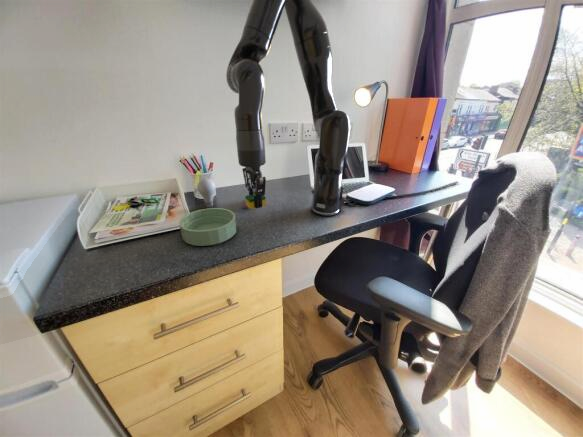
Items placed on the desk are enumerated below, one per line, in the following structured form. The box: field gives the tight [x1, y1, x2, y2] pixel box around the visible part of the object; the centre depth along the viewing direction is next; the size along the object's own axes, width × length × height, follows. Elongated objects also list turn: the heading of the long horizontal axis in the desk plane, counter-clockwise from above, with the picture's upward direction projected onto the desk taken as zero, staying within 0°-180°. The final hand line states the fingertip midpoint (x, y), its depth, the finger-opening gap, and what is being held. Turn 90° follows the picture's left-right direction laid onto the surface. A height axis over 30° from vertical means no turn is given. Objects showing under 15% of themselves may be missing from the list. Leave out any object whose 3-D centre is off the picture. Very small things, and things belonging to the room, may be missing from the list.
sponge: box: [244, 194, 267, 210], centre depth 71 cm, size 5×4×3 cm
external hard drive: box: [345, 183, 396, 206], centre depth 98 cm, size 24×12×2 cm, turn 132°
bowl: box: [178, 207, 238, 247], centre depth 69 cm, size 15×15×5 cm
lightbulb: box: [196, 178, 217, 209], centre depth 84 cm, size 6×6×11 cm
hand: (255, 204), depth 72 cm, fingers closed on sponge, 4 cm apart
